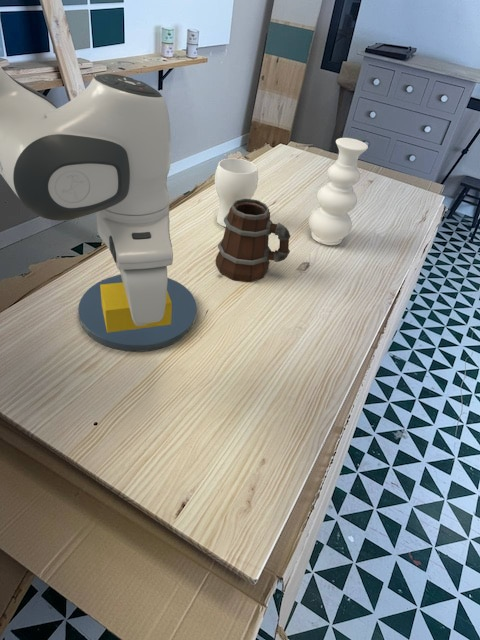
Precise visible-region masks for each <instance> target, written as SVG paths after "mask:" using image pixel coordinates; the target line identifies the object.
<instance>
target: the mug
mask: <svg viewBox="0 0 480 640" xmlns="http://www.w3.org/2000/svg"><path fill="white" fill-rule="evenodd" d="M224 222H225V224H226V227H224V228H225V229H224V233H223V236H222V239H221V240H220V241H219V243H218V244H217V248H218V250H219V251H218V253H217V255H216V257H215V265H216V268H217V269H218V272H219V273H220V274H221V275H223V276H225V277H227V278H228V279H231V280H232V281H239V282H248V283H250V282H251V283H252V282H254V281H258V280H260V279H263V278H265V276H266V274H267V272H268V271H269V266H270V261H273V262H274V263H279V262H283V261H284V260H286V259H287V258H288V257H289V255H290V253H291V250H290V248H289V246H290V245H289V243H290V239H291V234H290V231H289V229H288V228H287V227H286V226H285V225H284V224H282V223H280V222H277V223H274V222H273V221H272V220H271V212H270V208H269V207H268V205H267V204H266V203H264V202H262V201H260V200H258V199H253V198H251V199H241V200H236V201H235V202H234V203H233V205H232V207H231V208H230V210H229V213H228V214H227V215H226V217H225V218H224ZM271 234H274V235H275V236H277V239H278V240H279V247H278V249H275V250H274V251H272V250H271V248H270V246H269V236H270V235H271Z"/></svg>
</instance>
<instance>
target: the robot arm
mask: <svg viewBox="0 0 480 640" xmlns="http://www.w3.org/2000/svg"><path fill="white" fill-rule="evenodd" d="M170 124H171V123H170V117H169V110H168V106H167V102H166V99H165V97H164V96H163V95H162V94H161V92H160V91H158V90H157V89H155V88H154V87H152V86H151V85H149V84H148V83H146V82H144V81H142V80H138V79H134V78H132V77H129V76H124V75H120V74H113V73H104V74H98V75H95V76H93V78H92V79H91V81H90V83H88V85H87V87H86V88H85V89H83V90H82V91H81V92H80V93H79V94H78V95H76V96H75V97H74V98H72V99H71V100H69V101H68V102H66V103H65V104H63V105H62V106H59V107H57V105H56V104H55V103H54V102H53V101H52V100H50V99H49V98H48V97H47V96H45V95H44V94H42V93H41V92H40V91H37V90H36V89H34V88H32V87H30V86H28V85H26V84H24V83H22V82H20V81H18V80H16V79H15V78H13V77H12V76H11V75H10V74H9V73H8V72H6V71H5V70H4V69H3V67H1V66H0V176H2V178H3V179H4V181H5V182H6V183H7V185H8V186H9V187H10V188H11V190H12V191H13V193H14V195H16V197H17V198H18V199H19V200H20V201H21V203H22V205H24V207H25V208H26V209H28V210H29V211H30V212H32V213H33V214H35V215H37V216H38V217H40V218H43V219H47V220H49V221H50V220H51V221H58V222H60V221H61V222H62V221H70V220H71V221H72V220H74V219H78V218H82V217H86V216H89V215H92V214H94V213H95V218H96V219H95V220H96V230H97V234H98V237H99V238H100V239H101V241H102V242H104V244H105V246H106V247H107V249H108V250H109V252H110V255H111V256H112V258H113V261H114V263H115V265H116V268H117V270H119V273H120V275H121V277H122V281H123V285H124V289H125V293H126V296H127V300H128V304H129V308H130V312H131V317H132V320H133V322H134V324H135V326H143V325H146V324H149V323H155V322H159V321H161V319H162V318H163V316H164V312H165V303H166V294H167V280H168V278H169V277H168V276H169V275H168V266H172V265H173V263H174V251H173V245H172V244H173V243H172V241H171V235H170V225H171V224H170V199H171V198H170V192H169V189H168V183H167V182H168V176H169V173H170V170H171V158H172V157H171V156H172V155H171V153H172V150H171V148H172V146H171V145H172V144H171V142H172V141H171V125H170Z"/></svg>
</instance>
